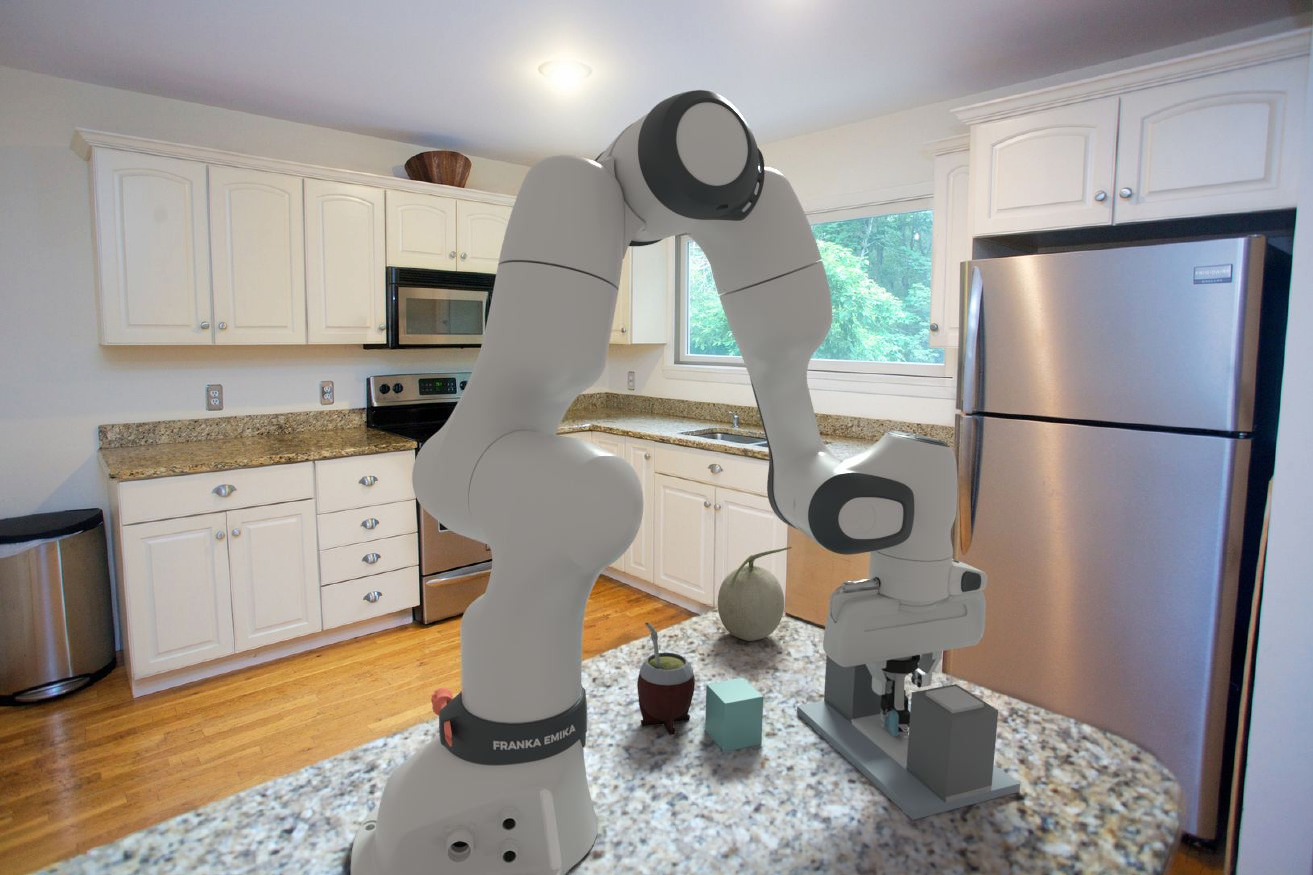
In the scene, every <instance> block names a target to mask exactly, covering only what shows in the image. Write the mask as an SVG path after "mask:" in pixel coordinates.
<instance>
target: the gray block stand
mask: <svg viewBox="0 0 1313 875" xmlns="http://www.w3.org/2000/svg"><path fill="white" fill-rule="evenodd" d="M825 656H826V658H825V659H826V660H825V675H824V693H823V695H824V696H823V700H822V701H816V702H810V703H805V704H800V705H796V708H797V709H796V714H797V715H799V717H800V718H801V719H802V720H804V721H805V722H806V723H807V724H808V725H809V726H810V727H811V728H812V729H814V730H815V731H816V733H818V734H819V735H820V736H821V737H822V738H823V739H824V740H825V741H826V742H828V744H830V745H831V746H832V747H833V748H834V749H836V751H838V752H839V754H841V755H842V756H843V757H844V758H845V759H846V760H847V761H848V762H849V763H850V764H851V765H853V766H854V767H855V768H856V769H857V770H858V771H859V772H860V773H861V774H863V776H865V777H866V778H867V780H868V781H869V782H871V783H872V784H873V785H874V786H875V787H876V788H877V789H878V790H879V791H881V792H882V793H883V794H884V795H885V796H886V797H887V798H889V800H891V801H892V802H893V804H895V805H896V806H897V807H898V808H899V809H900V810H901V811H902V812H903V813H905V815H906V816H908V817H909V818H910V819H911V820H912V821H915V820H919V819H922V818H925V817H931V816H934V815H937V814H942V813H944V812H945V813H946V812H948V811H949V812H950V811H952V810H955V809H960V808H965V807H969V806H972V805H974V804H980V803H982V802H987V801H991V800H995V799H997V798H999V799H1000V798H1001V797H1005V796H1010V795H1014V794H1017V793H1020V790H1021V782H1019V781H1018V780H1017V779H1015V778H1013V777H1012V776H1011V775H1009V774H1008V773H1007V772H1005V771H1004V770H1002V769H1001V768H999V767H998V766H997V765H995V753H996V752H995V750H996V743H997V742H996V741H997V728H998V721H999V709H997V708H995V707H994V706H992V705H991V704H989V703H987V702H986V701H984V700H983V699H981V698H980V697H977V696H976V695H974V694H973V693H971V692H969V691H968V690H966V689H965V688H963V687H961V686H960V685H959V684H956V683H955V684H949V685H944V686H939V687H934V688H928V689H923V690H917V691H911V699H910V704H909V703H908V710H909V711H910V724H909V727H908V728H909V732H908V736H909V738H908V740H904V739H903V738H902V737H901V736H893V735H892V733H891V732H890V731H889V729H888V728H887V726H886V725H885V723H884V727H882V726H881V723H880V715H881V695H878V694H877V693H875V692H874V691H873V689H872V675H871V674H870V672H869V670H868V668H867V666H866V664H863V665H857V666H851V667H842V666H840V665H839V664H837V663H836V662H834V661H833V660H832V659H831V658H829V657H828V655H827V654H825ZM883 673H884V675H885V676H886V677H887V673H885V672H883ZM882 723H883V722H882ZM904 737H905V736H904ZM905 738H907V737H905Z"/></svg>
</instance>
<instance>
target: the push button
mask: <svg viewBox="0 0 1313 875" xmlns="http://www.w3.org/2000/svg"><path fill="white" fill-rule="evenodd" d="M920 660H921V655H915V656H909V657H903V658H897V659H892V660H887V662H886V668H882V671H883V672H885V673H887V677H888V678H890V679H891V680H893V681H892V687H891V689H892V692H891V693H890V694H885V695H881V715H880V723H881V726H882V727H884V723H885V725H886V726H887V728H888V729H889V731H890V732H891V733H892V735H893V736H901V737H902V738H903V739H904V740H908V738H909V736H908V732H909V728H908V727H909V724H910V711H909V710H908V704H909V697H908V696H907V694H906V693H907V692H906V690H905V685H906V684H905V682H906V681H905V679H906V676H909V675H910V674H912V673H913V672H914V671H915V670H917V669H918V664H919V662H920ZM882 722H883V723H882ZM904 736H905V737H907V738H905V737H904Z"/></svg>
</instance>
